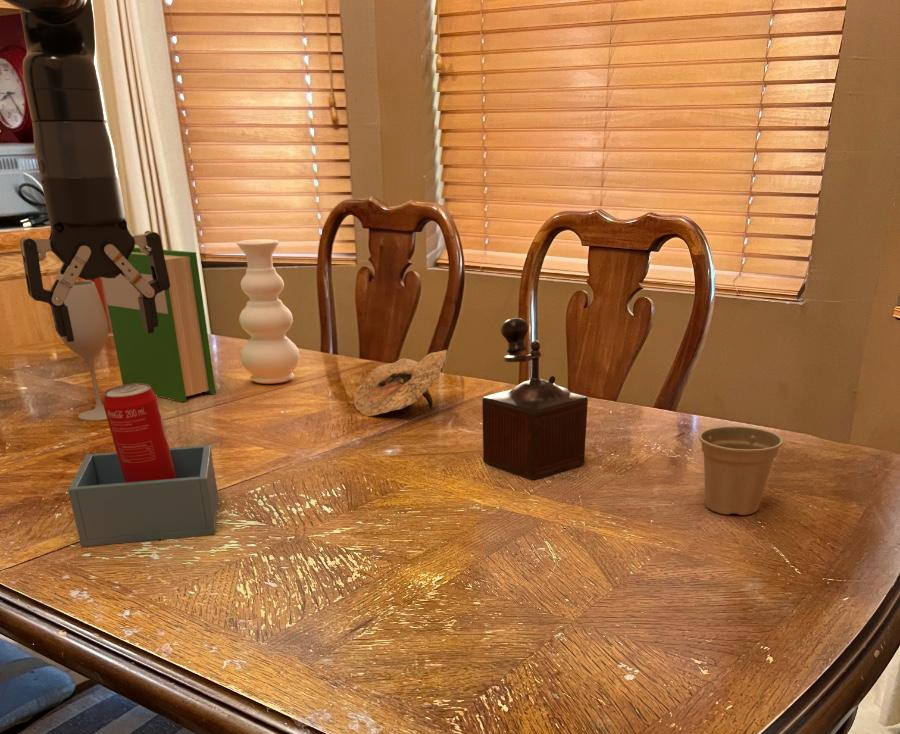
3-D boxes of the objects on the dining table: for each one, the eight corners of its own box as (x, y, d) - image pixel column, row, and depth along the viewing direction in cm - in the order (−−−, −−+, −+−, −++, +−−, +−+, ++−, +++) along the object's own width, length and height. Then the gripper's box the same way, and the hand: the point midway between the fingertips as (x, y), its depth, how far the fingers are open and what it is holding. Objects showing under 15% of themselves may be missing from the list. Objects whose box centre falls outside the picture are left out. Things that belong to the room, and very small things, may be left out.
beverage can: (192, 511, 103) (171, 386, 96) (142, 527, 99) (116, 397, 92) (167, 499, 106) (145, 378, 99) (118, 514, 102) (91, 388, 95)
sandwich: (356, 450, 146) (333, 412, 142) (383, 408, 156) (362, 371, 152) (447, 421, 137) (426, 379, 133) (469, 378, 147) (450, 338, 143)
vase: (233, 380, 165) (214, 240, 153) (281, 371, 171) (267, 236, 160) (263, 390, 158) (246, 244, 146) (312, 380, 164) (300, 239, 153)
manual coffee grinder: (590, 463, 119) (598, 328, 110) (532, 481, 112) (536, 340, 104) (514, 438, 129) (516, 314, 121) (457, 453, 123) (455, 324, 115)
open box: (81, 547, 96) (67, 489, 93) (97, 506, 107) (86, 454, 104) (215, 534, 98) (206, 478, 95) (218, 496, 109) (210, 444, 106)
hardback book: (215, 393, 156) (195, 252, 145) (182, 402, 151) (158, 256, 140) (157, 380, 166) (133, 247, 155) (123, 388, 161) (97, 251, 150)
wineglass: (74, 423, 141) (44, 288, 131) (80, 411, 147) (52, 281, 137) (122, 419, 142) (96, 285, 132) (126, 407, 149) (102, 279, 139)
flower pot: (679, 512, 102) (687, 442, 98) (703, 488, 109) (712, 421, 105) (760, 527, 98) (772, 454, 94) (779, 501, 105) (791, 432, 101)
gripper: (141, 171, 94) (165, 325, 101) (-2, 173, 87) (35, 338, 95) (159, 172, 88) (183, 335, 95) (8, 175, 81) (46, 349, 89)
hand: (109, 336), depth 95 cm, fingers open, 8 cm apart
